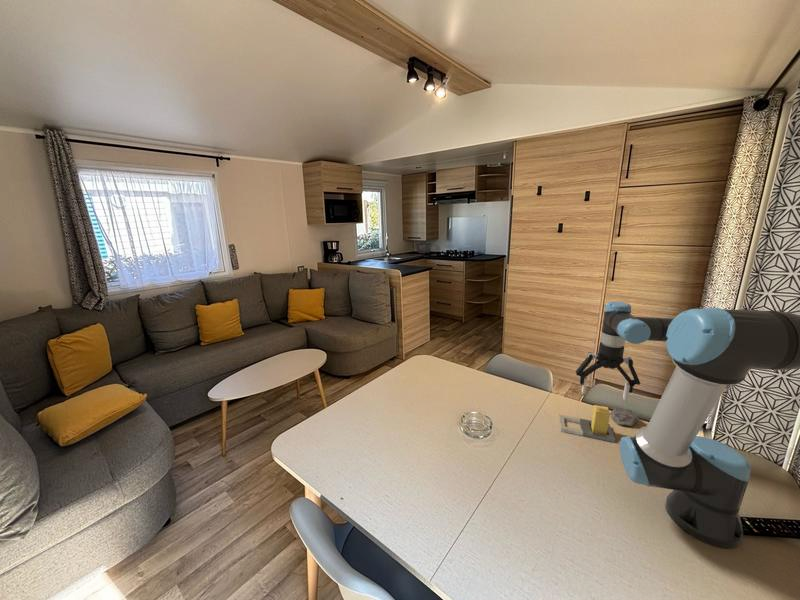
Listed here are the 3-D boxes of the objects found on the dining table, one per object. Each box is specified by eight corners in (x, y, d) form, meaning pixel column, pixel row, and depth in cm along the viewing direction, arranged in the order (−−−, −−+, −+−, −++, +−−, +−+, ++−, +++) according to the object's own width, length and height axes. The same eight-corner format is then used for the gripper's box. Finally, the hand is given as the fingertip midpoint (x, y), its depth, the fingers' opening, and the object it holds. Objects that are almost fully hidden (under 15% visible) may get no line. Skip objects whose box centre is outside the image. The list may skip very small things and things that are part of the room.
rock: (639, 420, 129) (641, 411, 128) (629, 430, 123) (631, 421, 122) (615, 410, 136) (617, 402, 135) (604, 419, 130) (606, 411, 129)
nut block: (606, 436, 119) (610, 413, 117) (592, 433, 121) (596, 411, 118) (603, 429, 123) (607, 407, 121) (590, 427, 125) (594, 404, 122)
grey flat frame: (614, 442, 116) (615, 439, 116) (560, 431, 123) (561, 428, 122) (609, 426, 125) (609, 424, 125) (559, 416, 132) (559, 414, 131)
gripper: (650, 344, 112) (640, 397, 117) (572, 336, 121) (566, 384, 127) (658, 352, 105) (646, 407, 110) (574, 343, 115) (567, 394, 120)
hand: (603, 395), depth 119 cm, fingers open, 13 cm apart
